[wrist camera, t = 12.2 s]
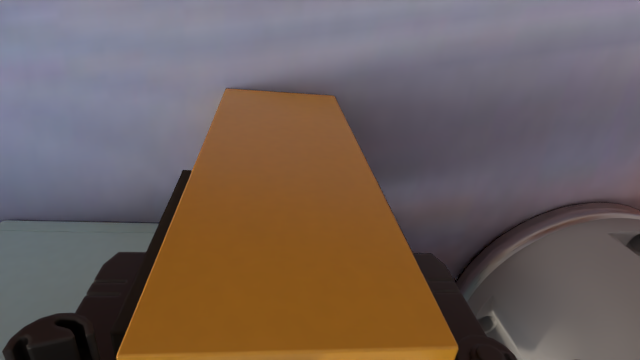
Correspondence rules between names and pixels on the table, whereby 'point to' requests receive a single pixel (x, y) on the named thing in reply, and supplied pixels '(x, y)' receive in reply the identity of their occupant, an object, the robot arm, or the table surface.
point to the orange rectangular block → (284, 249)
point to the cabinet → (56, 265)
